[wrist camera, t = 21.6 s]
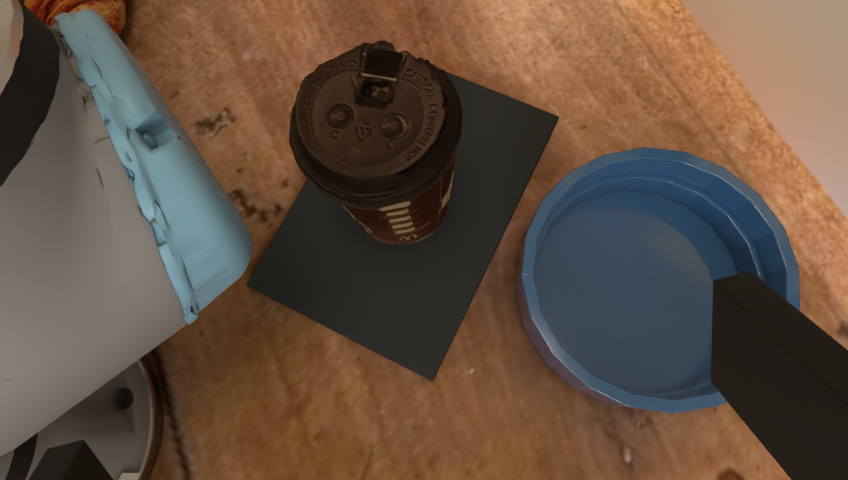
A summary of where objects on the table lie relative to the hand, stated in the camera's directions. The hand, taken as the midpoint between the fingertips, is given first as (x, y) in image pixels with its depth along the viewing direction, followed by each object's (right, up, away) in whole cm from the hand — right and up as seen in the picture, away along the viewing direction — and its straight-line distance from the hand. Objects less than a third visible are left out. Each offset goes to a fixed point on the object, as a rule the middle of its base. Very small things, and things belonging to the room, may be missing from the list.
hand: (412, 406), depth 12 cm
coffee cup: (-1, +6, +27) cm, 28 cm away
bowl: (+14, 0, +24) cm, 28 cm away
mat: (-1, +6, +27) cm, 28 cm away
